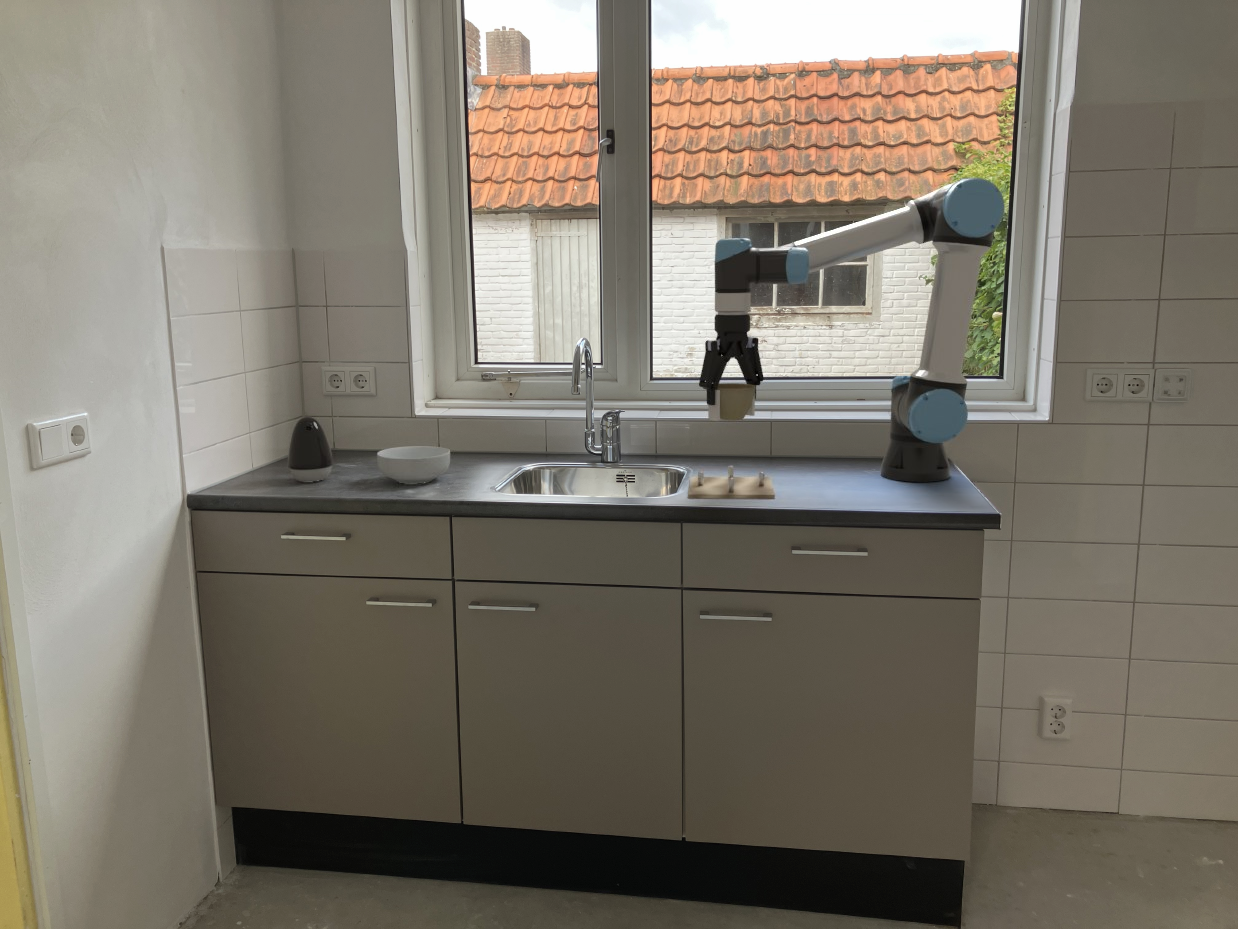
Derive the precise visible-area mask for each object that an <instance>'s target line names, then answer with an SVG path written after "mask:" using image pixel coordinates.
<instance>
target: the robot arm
mask: <svg viewBox="0 0 1238 929" xmlns="http://www.w3.org/2000/svg"><path fill="white" fill-rule="evenodd" d="M1004 214H1005V200H1004V196H1003V194H1002V191H1001V190H1000V188H998V186H996V185H995V184H994V183H993V182H991V181H990V180H987V179H984V178H981V177H965V178H960V179H959V180H958V179H957V181H955V182H950V183H948V184H945V185H943V186H942V187H939V188H937V189H936V190H934V191H932V192H929V193H928V194H925V195H923V196H920V197H918V198H914V199H912V200H908V202H907V203H906V205H905V207H901V208H899V209H896V210H893V211H888V212H885V213H883V214H880V215H879V214H878V215H876V216H872V217H870V218H866V219H864V220H863V219H862V220H860V221H857V222H854V223H851V224H848V225H844V226H840V227H837V228H835V229H832V230H828V231H825V232H821V233H819V234H818V233H817V234H815V235H812V236H809V237H806V238H802V239H799V240H797V241H793V242H790V243H787V244H783V245H780V246H777V247H753V244H752V241H751V239H750V238H722V239H719V240H717V241H716V243H715V249H714V253H715V254H714V311H715V312H716V313H717V314H715V316H714V331H715V332H716V339H715V340H709V339H708V340H706V341H705V345H704V346H705V347H704V348H705V352H704V353H705V354H704V356H703V362H702V367H701V373H700V377H699V383H698V386H699V388H702V389H703V390H706V406H708V407H707V409H708V412H707V414H708V415H707V416H708V421H715V422H720V421H721V419H720V390H716V389H717V387H718V385H719V384H720V381H721V379H722V376H723V374H724V371H725V369H726V366H727V364H728V363H729V362H730V360H731V359H732V358H734V359H735V360H736V361H737V364H738V366H739V369H740V372H741V373H742V376H743V379H744V381H745V382H746V383H745V384H750V385H755V386H756V388H755V394H754V398H753V401H752V403H751V406H750V408H749V410H748V412H747V414H746V415H745V416H750V417H754V416H755V413H756V412H755V411H756V410H755V408H756V404H755V403H756V402H755V400H756V399H757V386H760V385H761V384H762V383H761V382H763V381H764V379H765V378H764V373H763V368H762V363H761V358H760V357H761V356H760V351H759V338H758V337H754V336H748V332H749V331H750V330H751V315H750V314H749V313H748V312H751V305H752V304H751V301H752V300H751V296H752V295H751V286H752V285H791V286H792V285H797V284H798V285H799V284H800V285H801V284H805V283H806V282H807V281H808V279H809V274H810V273H814V272H818V271H820V270H824V269H828V268H830V267H834V266H836V265H840V264H844V263H847V262H850V261H854V260H857V259H860V258H863V257H866V256H871V255H873V254H877V253H879V252H884V251H886V250H890V249H893V248H896V247H900V246H903V245H906V244H910V243H913V242H915V243H916V244H918V245H923V244H925V243H928V242H931V243H932V246H934V248H935V250H936V251H937V258H936V265H935V272H934V276H933V283H932V288H931V294H930V295H931V296H930V301H929V307H928V312H927V313H928V314H927V320H926V326H925V330H924V338H923V344H922V349H921V355H920V360H919V361H920V362H919V366H918V367H917V369H915V370H914V371H912V372H911V373H910V374H909V375H897V376H894V378H893V379H892V382H891V388H890V393H891V396H890V399H891V400H890V403H891V404H890V428H889V429H890V430H889V431H890V432H889V434H890V435H889V436H890V437H889V444H888V446H887V447H886V450H885V454H884V457H883V459H882V462H881V465H880V475H881V476H882V477H884V478H887V479H891V480H896V481H903V482H913V483H914V482H915V483H916V482H917V483H923V482H924V483H925V482H926V483H929V482H940V481H946V480H948V479H949V478H950V477H951V474H950V473H951V466H950V463H949V459H948V456H947V452H946V449H945V445H944V443H946V442H949V441H951V440H953V439H955V438H957V436H959V435H960V434H961V432H962V431H963V430H964V429H965V427H966V425H967V422H968V418H969V417H968V416H969V411H968V407H967V404H966V401H965V398H966V392H967V388H968V386H967V385H968V380H967V379H966V377H965V376H964V375H963V372H962V371H963V365H964V360H965V359H964V358H965V354H966V348H967V343H968V342H967V341H968V336H969V331H970V325H971V319H972V314H973V308H974V303H975V297H976V296H975V295H976V290H977V286H978V279H979V274H980V268H981V262H982V258H983V256H984V255H985V254H987V253H988V252H989V251H990V250H992V244H993V240H994V239H993V238H994V234H995V230H996V229H997V228H998V227H999V226H1000V223H1001V222H1002V220H1003V218H1004Z"/></svg>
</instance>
